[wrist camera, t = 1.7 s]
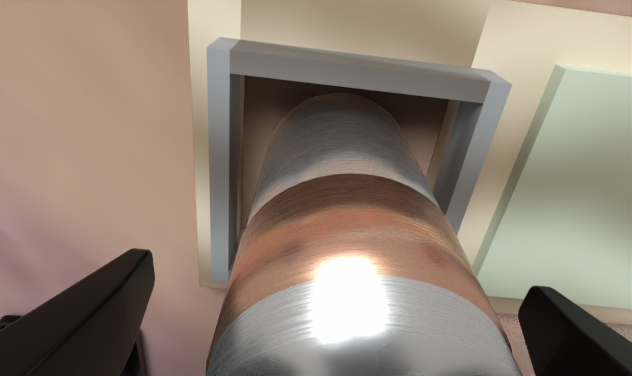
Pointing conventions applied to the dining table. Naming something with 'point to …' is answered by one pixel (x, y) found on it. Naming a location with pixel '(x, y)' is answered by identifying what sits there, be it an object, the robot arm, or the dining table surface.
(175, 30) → the dining table surface
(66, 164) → the dining table surface
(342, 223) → the steel tin
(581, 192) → the pocket board
